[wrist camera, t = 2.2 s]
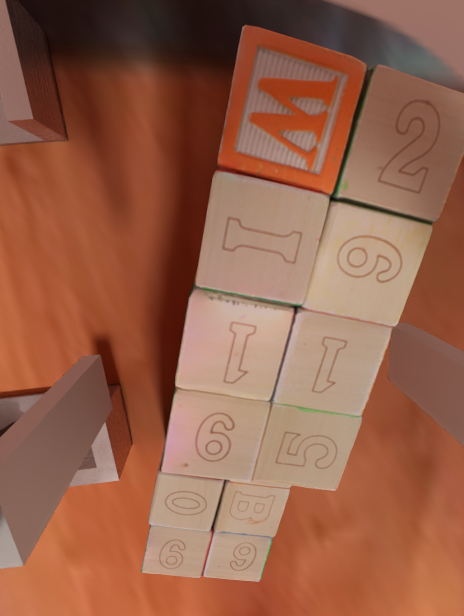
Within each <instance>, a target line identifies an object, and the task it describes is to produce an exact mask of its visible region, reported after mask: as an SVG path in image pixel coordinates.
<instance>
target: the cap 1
mask: <svg viewBox="0 0 464 616" xmlns="http://www.w3.org/2000/svg"><path fill="white" fill-rule="evenodd" d="M65 140H68V137H67V133H66V128H65V123H64V119H63V114H62V109H61V105H60V100H59V95H58V90H57V86H56V81H55V76H54V72H53V67H52V62H51V58H50V53H49V48H48V43H47V39H46V34H45V32H44V31H43V30H42V29H41V27H40V26H39V25H38V24H37V23H36V21H35V20H34V19H33V18H32V17H31V16H30V14H29V13H28V12H27V11H26V10H25V9H24V7H23V6H22V5H21V4H20V3H19V2H18V0H0V146H1V145H13V144H26V143H39V142H52V141H65Z"/></svg>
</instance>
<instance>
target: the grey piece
mask: <svg viewBox="0 0 464 616" xmlns="http://www.w3.org/2000/svg"><path fill="white" fill-rule="evenodd" d="M107 386H108V390H109V394H110V399H111V403H112V407H113V409H112V411H111V412H110V414H109V416H108V418H107V419H106V421H105V423H104V425H103V426H102V428H101V430H100V432H99V434H98V435H97V437H96V439H95V441H94V442H93V444H92V446H91V448H90V449H89V451H88V453H87V455H86V457H85V458H84V460H83V462H82V464H81V465H80V467H79V469H78V471H77V472H76V474H75V476H74V478H73V480H72V481H71V483H70V485H69V487H70V486H78V485H86V484H94V483H102V482H110V481H118V480H119V479H120V476H121V474H122V471H123V468H124V465H125V463H126V460H127V457H128V455H129V452H130V449H131V446H132V444H133V443H132V438H131V433H130V429H129V424H128V419H127V414H126V410H125V405H124V400H123V396H122V391H121V386H120V384H112V385H107ZM45 393H46V392H41V393H32V394H23V395H15V396H6V397H0V430H1V429H3V428H5V427H6V426H8V425H9V424H11V423H12V422H16V421H17V420H18V419H19V418H20V417H22V416H23V415H24V414H25V413H26V412H27V411H28V410H29V409H30V408H31V407H32V406H33V405H34V404H35V403H36V402H37V401H38V400H39V399H40V398H41V397H42V396H43V395H44V394H45Z"/></svg>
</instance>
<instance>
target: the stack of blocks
mask: <svg viewBox="0 0 464 616" xmlns="http://www.w3.org/2000/svg"><path fill="white" fill-rule="evenodd" d="M463 156H464V93H461V92H458V91H455V90H452V89H449V88H446V87H443V86H440V85H437V84H434V83H431V82H428V81H426V80H423V79H420V78H417V77H414V76H411V75H408V74H406V73H403V72H400V71H398V70H395V69H392V68H390V67H387V66H384V65H379V64H378V65H377V66H375V67H374V68H372V69H371V70H367V65H366V64H365V63H364V62H362V61H361V60H359V59H357V58H355V57H353V56H350V55H347V54H343V53H340V52H337V51H334V50H330V49H327V48H324V47H321V46H318V45H315V44H312V43H309V42H306V41H302V40H299V39H296V38H292V37H289V36H286V35H283V34H279V33H276V32H273V31H269V30H266V29H263V28H260V27H255V26H248V25H245V26H243V27H242V32H241V37H240V42H239V47H238V52H237V58H236V63H235V69H234V74H233V80H232V85H231V91H230V96H229V102H228V107H227V112H226V118H225V123H224V128H223V133H222V138H221V144H220V149H219V154H218V163H217V170H216V171H215V172H214V174H213V179H212V184H211V190H210V196H209V202H208V208H207V214H206V220H205V226H204V232H203V238H202V244H201V250H200V256H199V263H198V268H197V272H196V276H195V281H194V285H193V287H192V289H191V292H190V295H189V299H188V306H187V310H186V316H185V324H184V330H183V336H182V341H181V347H180V353H179V359H178V365H177V371H176V377H175V391H174V396H173V401H172V407H171V413H170V418H169V422H168V427H167V434H166V439H165V444H164V448H163V452H162V456H161V460H160V464H159V468H158V473H157V477H156V482H155V487H154V492H153V497H152V502H151V507H150V513H149V518H148V522H149V524H150V529H149V534H148V539H147V544H146V549H145V554H144V559H143V564H142V569H141V572H144V573H151V574H165V575H174V576H185V577H194V578H199V577H201V576H205V577H211V578H222V579H235V580H246V581H258V582H259V581H260V579H261V576H262V573H263V570H264V566H265V563H266V560H267V557H268V554H269V551H270V548H271V544H272V537H274V536H275V535H276V532H277V529H278V526H279V523H280V520H281V517H282V514H283V511H284V507H285V504H286V501H287V498H288V496H289V492H290V487H291V486H292V485H293V486H300V487H307V488H313V489H319V490H326V491H335V490H336V489H337V487H338V485H339V482H340V480H341V477H342V474H343V471H344V469H345V466H346V463H347V460H348V457H349V454H350V452H351V449H352V447H353V444H354V441H355V439H356V436H357V433H358V430H359V427H360V424H361V422H362V416H361V415H362V413H363V411H364V408H365V406H366V404H367V401H368V399H369V397H370V394H371V391H372V388H373V385H374V383H375V380H376V377H377V373H378V370H379V367H380V365H381V363H382V360H383V358H384V355H385V352H386V350H387V347H388V344H389V341H390V337H391V332H392V328H393V327H395V326H396V325H397V324H398V321H399V319H400V316H401V314H402V311H403V309H404V306H405V303H406V300H407V298H408V295H409V292H410V290H411V287H412V285H413V282H414V280H415V277H416V274H417V272H418V269H419V266H420V263H421V261H422V258H423V255H424V252H425V250H426V247H427V244H428V241H429V238H430V236H431V234H432V229H433V228H432V225H431V224H432V223H433V222H435V221H436V220H437V219H438V218H439V216H440V215H441V213H442V210H443V208H444V205H445V203H446V200H447V198H448V195H449V193H450V190H451V187H452V185H453V182H454V180H455V177H456V174H457V172H458V169H459V167H460V164H461V161H462V159H463Z"/></svg>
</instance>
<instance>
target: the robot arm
mask: <svg viewBox="0 0 464 616" xmlns="http://www.w3.org/2000/svg"><path fill="white" fill-rule="evenodd" d="M388 379H389V380H390V381H391V382H392V383H393V384H394V385H395V386H397V387H398V388H399V389H400V390H401V391H402V392H403V393H404V394H405V395H407V396H408V397H409V398H410V399H411V400H412V401H413V402H414V403H416V404H417V405H418V406H419V407H420V408H421V409H422V410H423V411H425V412H426V413H427V414H428V415H429V416H430V417H431V418H432V419H433V420H435V421H436V422H437V423H438V424H439V425H440V426H441V427H442V428H444V429H445V430H446V431H447V432H448V433H449V434H450V435H451V436H453V437H454V438H455V439H456V440H457V441H458V442H459V443H460V444H462V445H463V446H464V351H462V350H460V349H458V348H456V347H454V346H452V345H450V344H448V343H446V342H444V341H442V340H440V339H438V338H436V337H435V336H433V335H431V334H429V333H427V332H425V331H423V330H421V329H419V328H417V327H415V326H413V325H411V324H409V323H403V324H397V325H396V326H395V327H393V328H392V332H391V339H390V354H389V370H388ZM112 409H113V407H112V403H111V399H110V394H109V390H108V386H107V381H106V377H105V373H104V368H103V364H102V359H101V355H90V356H83V357H82V358H81V359H80V360H79V361H78V362H77V363H75V364H74V365H73V366H72V367H71V368H70V369H69V370H68V371H67V372H66V373H65V374H64V375H63V376H62V377H61V378H60V379H59V380H58V381H57V382H56V383H55V384H54V385H53V386H52V387H51V388H50V389H49V390H48V391H47V392H46V393H45V394H44V395H43V396H42V397H41V398H40V399H39V400H38V401H37V402H36V403H35V404H34V405H33V406H32V407H31V408H30V409H29V410H28V411H27V412H26V413H25V414H24V415H23V416H22V417H20V418H19V419H18V420H17V421H16V422H12V423H11V424H9V425H8V426H6V427H5V428H3V429H1V430H0V569H2V568H11V567H19V566H24V565H25V563H26V561H27V559H28V557H29V556H30V554H31V552H32V550H33V549H34V547H35V545H36V543H37V542H38V540H39V538H40V536H41V534H42V533H43V531H44V529H45V527H46V526H47V524H48V522H49V520H50V519H51V517H52V515H53V513H54V511H55V510H56V508H57V506H58V504H59V503H60V501H61V499H62V497H63V495H64V494H65V492H66V490H67V488H68V487H69V485H70V483H71V481H72V480H73V478H74V476H75V474H76V472H77V471H78V469H79V467H80V465H81V464H82V462H83V460H84V458H85V457H86V455H87V453H88V451H89V449H90V448H91V446H92V444H93V442H94V441H95V439H96V437H97V435H98V434H99V432H100V430H101V428H102V426H103V425H104V423H105V421H106V419H107V418H108V416H109V414H110V412H111V411H112Z"/></svg>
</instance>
